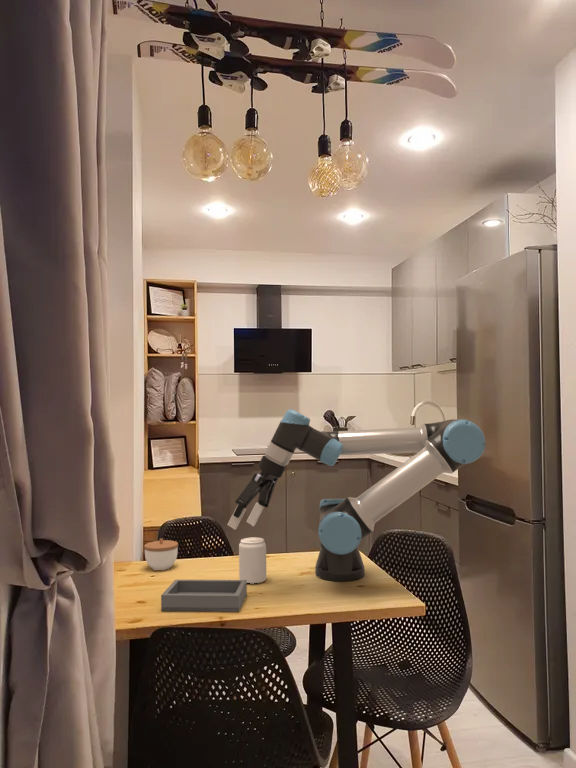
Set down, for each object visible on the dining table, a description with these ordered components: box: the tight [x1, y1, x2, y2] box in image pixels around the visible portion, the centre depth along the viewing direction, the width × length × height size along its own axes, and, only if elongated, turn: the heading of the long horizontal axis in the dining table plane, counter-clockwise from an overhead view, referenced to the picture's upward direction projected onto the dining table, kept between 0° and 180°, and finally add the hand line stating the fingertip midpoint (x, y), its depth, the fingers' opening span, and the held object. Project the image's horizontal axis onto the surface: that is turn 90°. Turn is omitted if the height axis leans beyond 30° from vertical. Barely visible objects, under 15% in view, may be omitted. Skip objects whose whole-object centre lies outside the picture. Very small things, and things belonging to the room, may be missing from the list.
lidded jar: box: [143, 538, 179, 571], centre depth 179 cm, size 11×11×9 cm
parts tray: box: [160, 579, 248, 613], centre depth 145 cm, size 20×13×4 cm, turn 86°
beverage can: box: [238, 536, 268, 585], centre depth 164 cm, size 8×8×12 cm
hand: (241, 525), depth 158 cm, fingers open, 13 cm apart
